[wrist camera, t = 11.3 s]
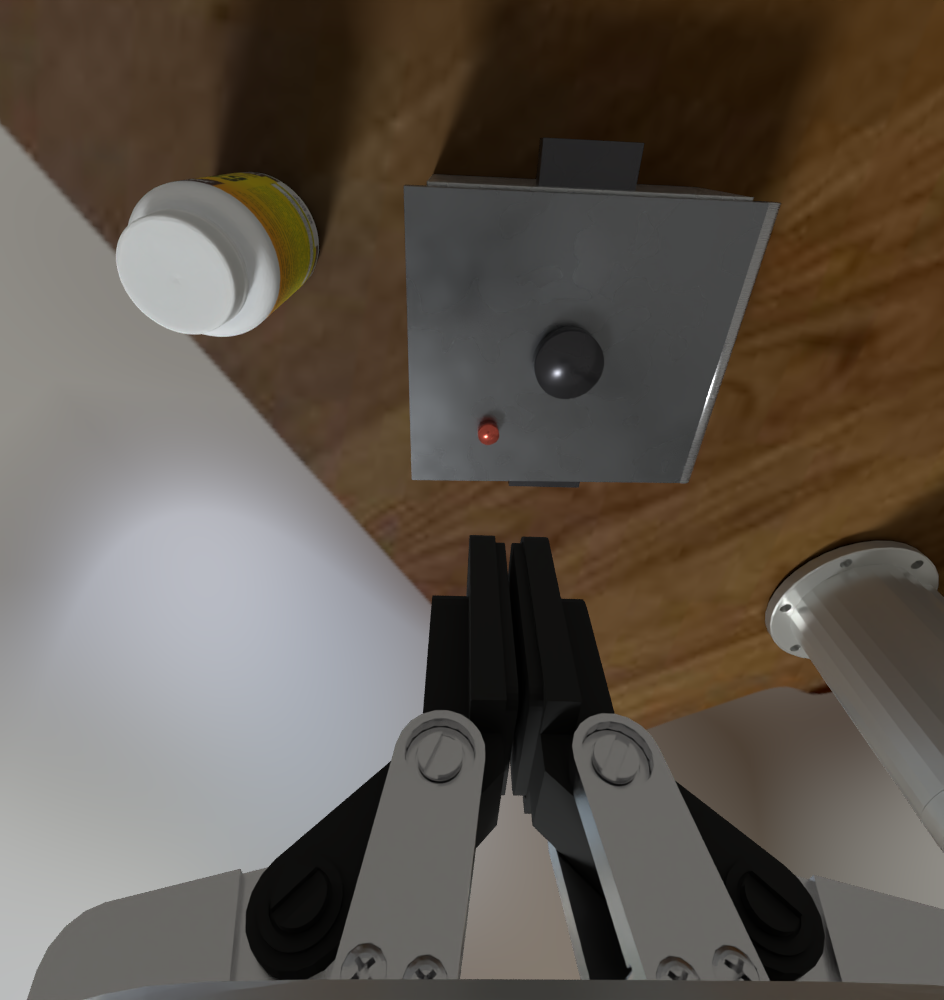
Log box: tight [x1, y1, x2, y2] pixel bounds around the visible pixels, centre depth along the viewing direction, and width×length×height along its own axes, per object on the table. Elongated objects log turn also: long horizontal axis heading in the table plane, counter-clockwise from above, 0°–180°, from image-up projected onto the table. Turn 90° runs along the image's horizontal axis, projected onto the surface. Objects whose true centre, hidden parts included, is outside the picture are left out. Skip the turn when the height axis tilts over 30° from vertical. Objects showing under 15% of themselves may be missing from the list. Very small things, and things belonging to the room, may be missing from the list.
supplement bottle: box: [116, 172, 319, 337], centre depth 22 cm, size 6×6×10 cm
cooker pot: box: [427, 138, 753, 487], centre depth 27 cm, size 13×16×6 cm
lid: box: [404, 185, 781, 483], centre depth 23 cm, size 15×13×2 cm
